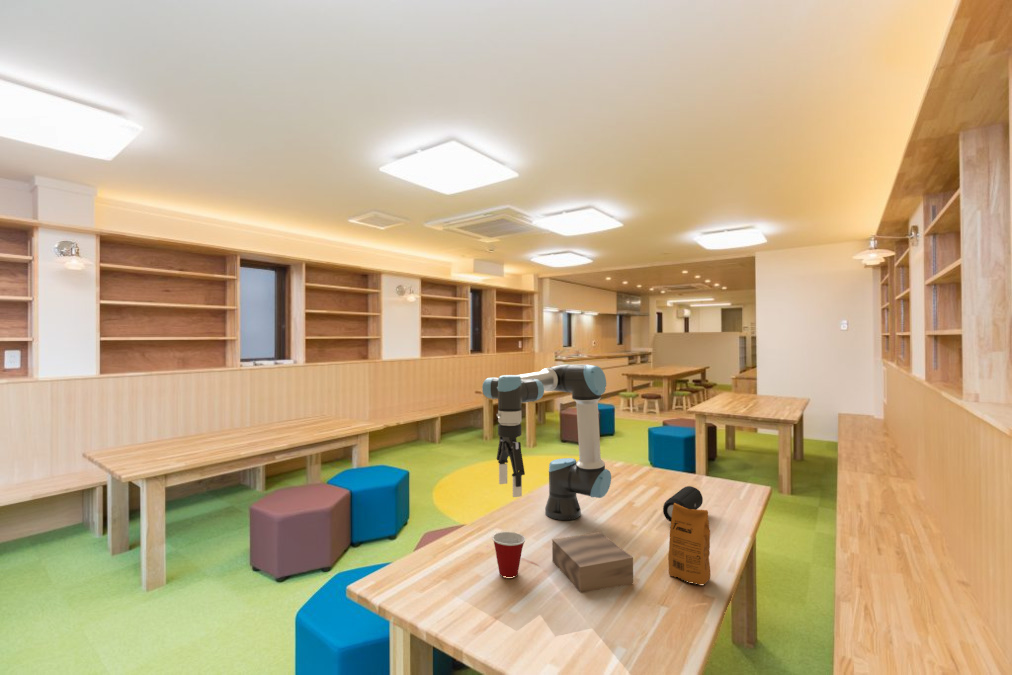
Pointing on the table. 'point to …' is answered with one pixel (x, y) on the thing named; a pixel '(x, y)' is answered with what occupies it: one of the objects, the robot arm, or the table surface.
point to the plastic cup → (508, 552)
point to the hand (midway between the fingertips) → (509, 489)
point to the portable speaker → (683, 501)
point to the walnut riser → (592, 561)
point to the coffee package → (689, 545)
